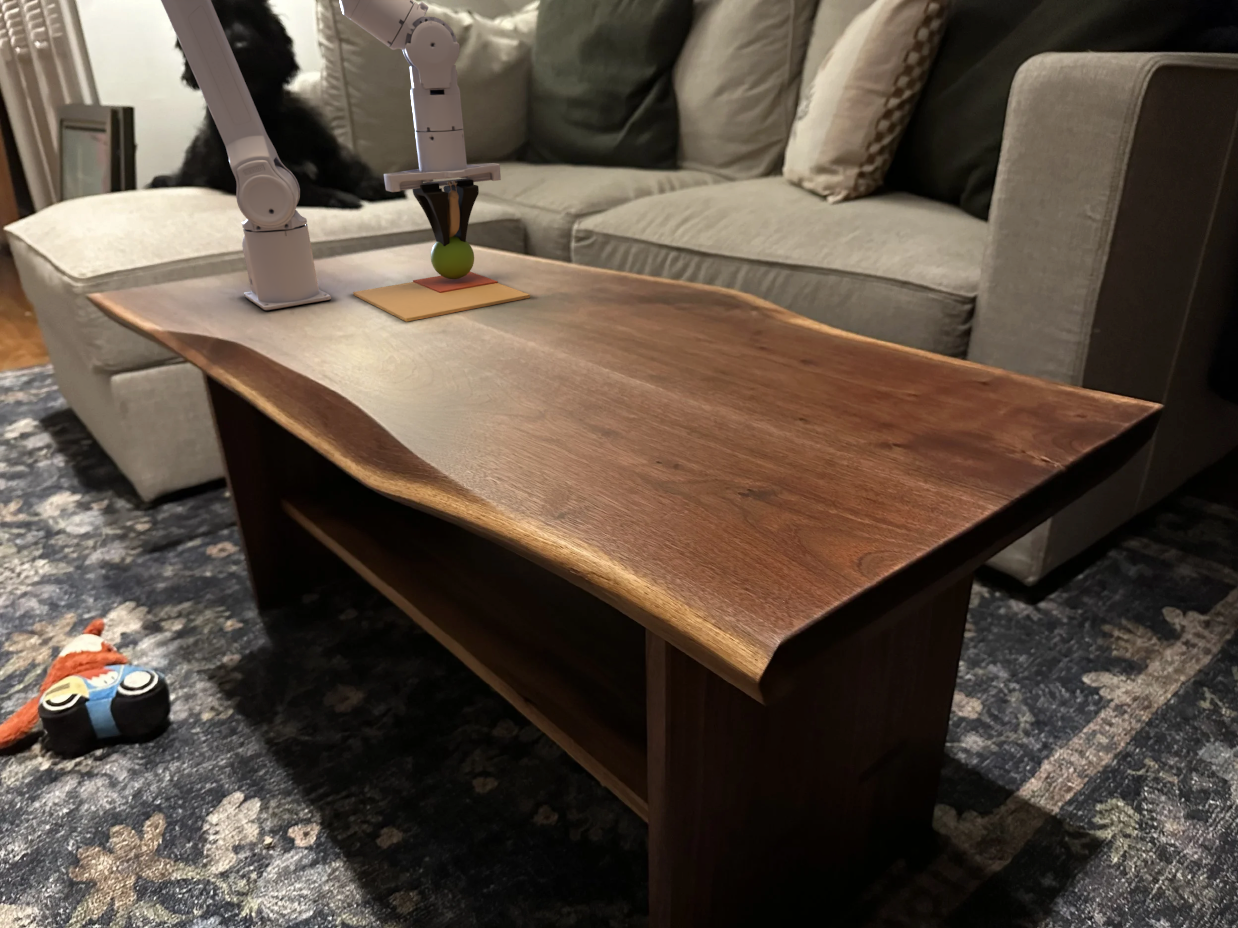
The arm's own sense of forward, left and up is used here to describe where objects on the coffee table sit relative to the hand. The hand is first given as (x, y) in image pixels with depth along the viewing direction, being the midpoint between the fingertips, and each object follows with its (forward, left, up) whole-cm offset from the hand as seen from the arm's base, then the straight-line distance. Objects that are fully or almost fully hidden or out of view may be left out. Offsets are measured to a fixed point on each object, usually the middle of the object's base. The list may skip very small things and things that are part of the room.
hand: (451, 245), depth 110 cm
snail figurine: (0, 0, -4) cm, 4 cm away
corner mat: (+4, -4, -5) cm, 8 cm away
